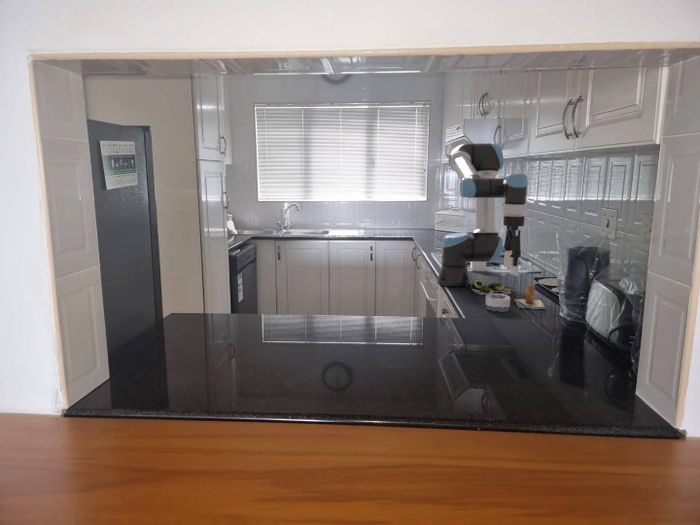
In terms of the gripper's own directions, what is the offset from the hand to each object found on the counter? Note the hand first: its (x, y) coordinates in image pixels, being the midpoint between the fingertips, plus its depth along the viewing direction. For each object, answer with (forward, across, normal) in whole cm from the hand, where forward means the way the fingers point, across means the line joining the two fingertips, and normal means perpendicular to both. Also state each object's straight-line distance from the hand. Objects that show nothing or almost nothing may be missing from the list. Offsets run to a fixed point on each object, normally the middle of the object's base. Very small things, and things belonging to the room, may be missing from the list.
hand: (510, 270), depth 194 cm
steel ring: (+15, -1, +4) cm, 16 cm away
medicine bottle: (+14, +70, +3) cm, 71 cm away
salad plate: (+15, +26, +4) cm, 30 cm away
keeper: (+15, +5, -9) cm, 18 cm away
